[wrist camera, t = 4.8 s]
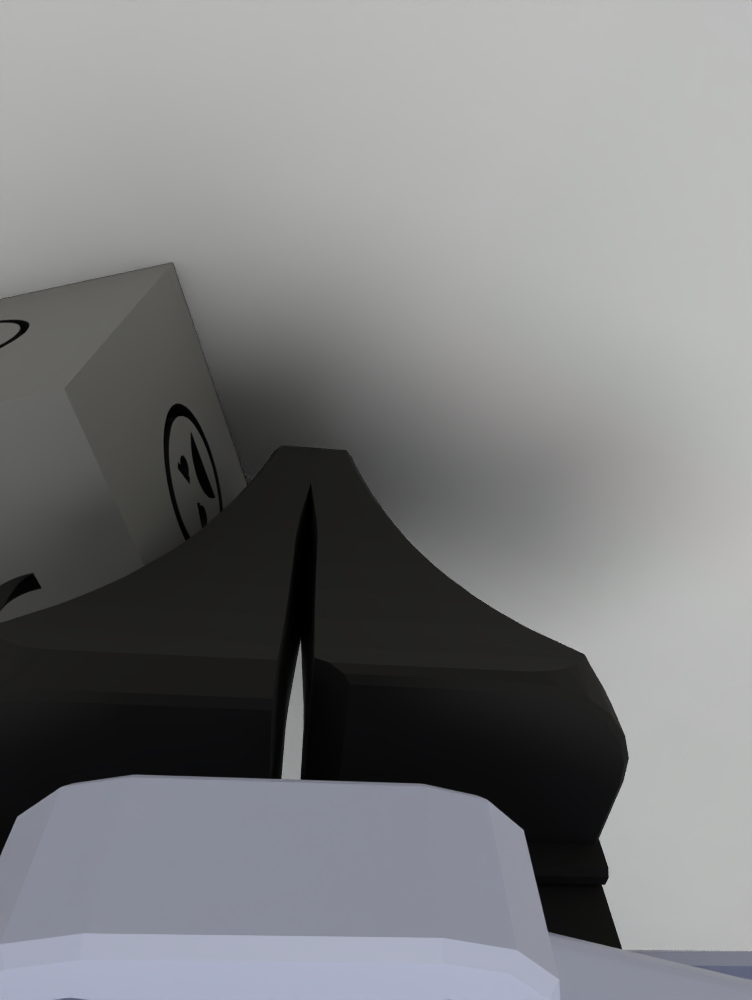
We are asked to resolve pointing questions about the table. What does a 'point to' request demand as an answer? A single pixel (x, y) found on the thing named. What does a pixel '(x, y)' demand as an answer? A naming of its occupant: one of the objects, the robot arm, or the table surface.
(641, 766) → the table surface
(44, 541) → the dice cube
